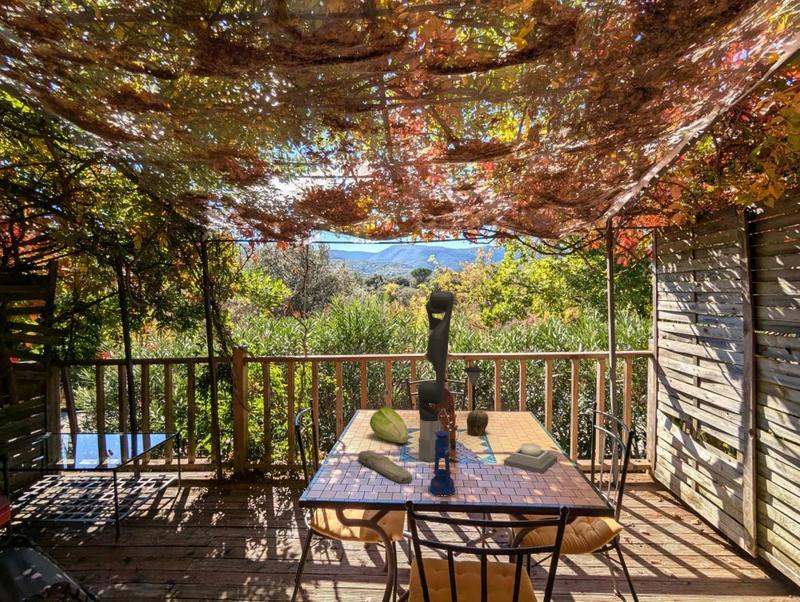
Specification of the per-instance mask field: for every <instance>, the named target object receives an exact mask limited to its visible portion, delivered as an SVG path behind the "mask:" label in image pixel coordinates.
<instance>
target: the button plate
mask: <svg viewBox="0 0 800 602" xmlns="http://www.w3.org/2000/svg"><path fill="white" fill-rule="evenodd" d="M557 461H558V456H557V455H556V454H552V453H551V454H550V451H549V450H546V449H541V455H540V456H538V457H533V456H528V455H523V454H521V447H520V448H517V449H516V450H515V451H514V452H512V454H510V455H508V457H507V458H505V459H504V460H503V465H504V466H508V467H512V468H517V469H520V470H525V471H529V472H532V473H533V472H534V473H537V474H543V473H544V472H546V470H548V469H549V468H550V467H551V466H552V465H554V464H555V462H557Z"/></svg>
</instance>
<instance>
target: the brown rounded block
mask: <svg viewBox="0 0 800 602" xmlns="http://www.w3.org/2000/svg"><path fill="white" fill-rule="evenodd" d="M488 426H489V415H488V413H487V412H486V411H484V410H481V409H478V410H476V409H475V410H474V411H472V410H471V411H470V412H468V415H467V418H466V428H467V429H466V431H467V434H468V435H470V436H473V437H478V436H484V435H485V433H486V429H487V427H488Z"/></svg>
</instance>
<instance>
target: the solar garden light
mask: <svg viewBox="0 0 800 602" xmlns="http://www.w3.org/2000/svg"><path fill="white" fill-rule="evenodd" d="M462 372H464V373H466V375H467V378H468V380H469V382H470V384H471V411H474V410H476V385H477V382H478V380H479V377H480V376H481V374H482V373H484V372H485V370H484V369H483V368H481V367H479V366H469V367H466V368H465V369H463V370H462Z"/></svg>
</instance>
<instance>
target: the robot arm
mask: <svg viewBox="0 0 800 602" xmlns="http://www.w3.org/2000/svg"><path fill="white" fill-rule="evenodd" d="M454 297H455V296H454V293H453V292H451V291H445V290H438V289H437V290H436V289H435V290H432V291H431V292H430V295H429V298H428V299H429V300H428V301H426V303H425V310H426V314H427V319H428V328H429V329H428V338H427V339H428V340H427V347H426V353H424V357H425V358H426V359H427V360H428V362H429V363H431V365H432V370H433V371H434V373H435V381H421V382H420V384H419V385H418V390H417V397H418V398H417V399H418V400H417V401H418V414H419V438H418V460H420V461H425V462H427V463H432V462H435V456H434V455H435V440H436V439H437V436H436V435H435V432H437V431H438V414H439V413H440V410H437V409H435V408H434V407H433V406H431V405H430V404H433V405H441V404H442V403H443V401H444V398H445V393H446V391H445V390H446V366H447V360H448V359H447V358H448V351H449V343H450V341H449V339H450V329H451V328H450V326H451V320H452V315H453V307H454V300H455V298H454ZM443 314H444V315H443ZM434 315H443V317H442V318H439V317H435V316H434ZM441 424H442V414H441V413H440V414H439V431H442V429H441V430H440V425H441ZM441 426H442V425H441ZM441 459H442V458H439V461H440V460H441Z"/></svg>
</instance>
